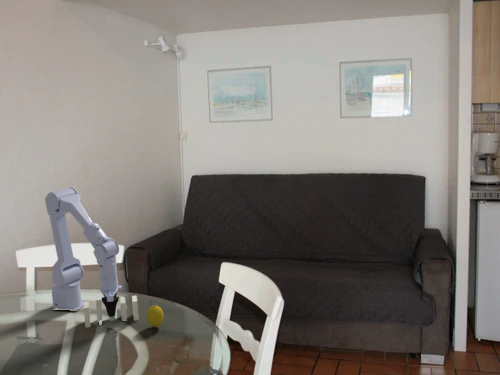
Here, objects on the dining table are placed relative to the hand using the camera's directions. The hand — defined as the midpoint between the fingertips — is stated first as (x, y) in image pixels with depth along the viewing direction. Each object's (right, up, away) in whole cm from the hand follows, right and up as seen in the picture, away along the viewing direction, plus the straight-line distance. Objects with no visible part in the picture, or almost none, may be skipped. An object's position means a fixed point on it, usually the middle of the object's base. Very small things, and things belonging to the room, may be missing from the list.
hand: (111, 312), depth 183 cm
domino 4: (+4, -3, +2) cm, 5 cm away
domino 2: (-4, -3, 0) cm, 5 cm away
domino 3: (0, -2, 0) cm, 2 cm away
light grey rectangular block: (-8, -3, -1) cm, 9 cm away
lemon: (+16, -4, -5) cm, 17 cm away
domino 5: (+8, -2, +3) cm, 9 cm away
